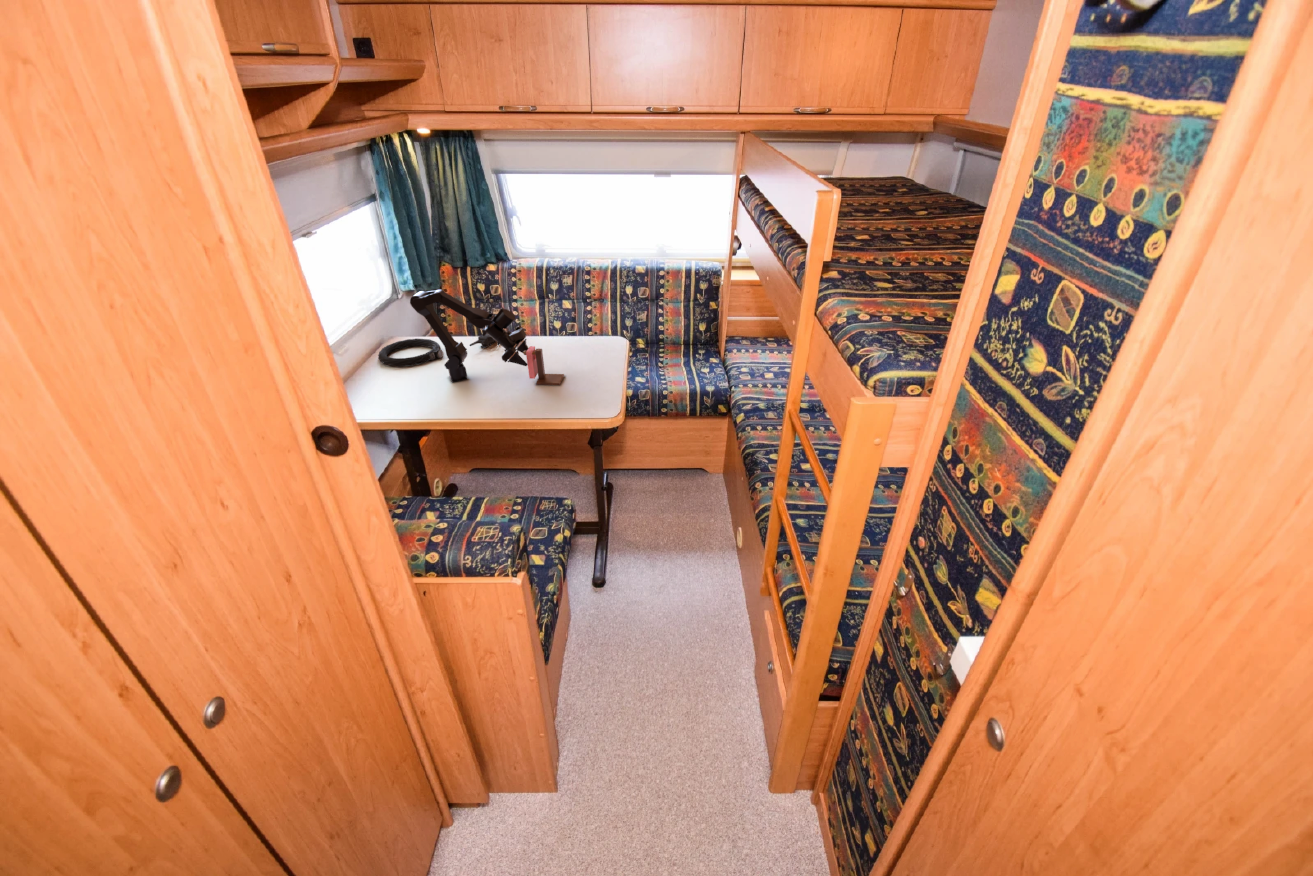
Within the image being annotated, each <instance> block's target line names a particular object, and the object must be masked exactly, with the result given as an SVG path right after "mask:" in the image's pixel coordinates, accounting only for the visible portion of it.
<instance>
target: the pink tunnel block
mask: <svg viewBox="0 0 1313 876" xmlns="http://www.w3.org/2000/svg"><path fill="white" fill-rule="evenodd" d="M535 350H536V346H535V345H534V346H533V345H531V346H528V350H527V351H526V355H525V357H526V363H527V364H528V365H527V370H528V377H529V380H530V379H536V378H537V376H538V370H537V362H536V355H532V353H533V351H535Z"/></svg>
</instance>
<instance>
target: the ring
mask: <svg viewBox="0 0 1313 876" xmlns="http://www.w3.org/2000/svg"><path fill="white" fill-rule="evenodd" d="M410 347H411V348H413V347H426V348H431V349H430V350H429V351H427V352H425V353H422V354H419V355H416V356H410V357H399V358H395V357H389V356H388V355H390V354H391V353H393V352H395V351H398V350H400V349H401V350H402V349H405V348H410ZM443 355H444V353H443V350H442V349H441V346H440V343H438V342H437V341H435V340H433V339H430V338H429V339H428V338H408V339H405V340H398V341H396V342H393V343H390V344H387V345H385V346H384V347H382V348H381V350H380V351H378V354H377V356H378V360H379V361H380V363H383V364H384V365H388V366H391V367H407V366H408V367H409V366H415V365H418V364H419V365H420V364H423V363H425V362H429V361H433V360H434V359H436V360H439V359H442V358H443Z"/></svg>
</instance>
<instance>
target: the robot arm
mask: <svg viewBox="0 0 1313 876" xmlns="http://www.w3.org/2000/svg"><path fill="white" fill-rule="evenodd" d="M435 303H439V304H441V305H443V306H445V307H446V308H448V309H450V310H452V311H453V312H455V313H457V314H459V315H461V316H462V317H464V318H465V319H466V320H467V322H469V323H470V324H471V325H473V327H475V328H477V329H481V332H482V333H481V335H483V336H485V335H486V334H488V335H490V336H491V337H492V338H493V339H494V340H496V345H497V346H498V347H499V346H501V347H502V348H504V353H503V354H502V355H501V360H502V361H503V362H504V363H513V364H517V365H520V366H523V367H528V364H527V361H526V360H524V358H523V357H522V356H521V355H520V353H522V354H523V352H524V351H525V350H526V351H527V350H528V348H529V346H528V345H527V333H526V329H525V328H524V327H523V326H521V325H517V326H516V327H515V330H514V331H512V332H511V331H510V330H507V331H506V330H505V329H508V328H509V327H510V326H511V325H512V324H513V322H514V321H515V320H516V315H515V313H513V312H512V311H511V310H509V309H505V308H504V307H501V308H500V309H499V310H498V312H497V313H492V312H488V311H487V310H484V309H482V308H479V307H473V306H471V305H468V304H467V303H465V302H464V301H461V300H459V299H458V298H456V297H454V296H452V295H450V294H449V293H447V292H446V291H444V290H443V289H436V290H428V291H423V290H421V291H418V292H417V293H415V294H414V295H413V296H411V297H410V299H409V305H410V306H411V307H412V309H413V310H414V311H415V312H416V313H417V314H419V315H421V316H422V317H423V318H424V319H425V320H426V322H427V323H428V325H429V326H430V328H431V329H432V330H433V332H434V333H435V335H436V336H437V338H438V339H439V341H440V342H441V344H442V345H443V346H444V351H445V355H446V357H447V359H448V360H447V361H446V362H445V363H444V368H445V369H446V370H448V378H449V380H450V381H451V383H457V382H462V381H466V380H468V373H467V368H466V366H465V365H464V362H465V360H466V358H467V357H468V349H467V348H466V346H465V345H464V343H463V342H462V341H460V342H458V341H456V340H455V339H454V337H453V336H452V334H451V333H450V331H449V330H448V329H447V327H446V325H445V324H444V322H443V320H442V319H441V318H440V317H439V315H438V313H437V312H436V311H435V306H434V304H435ZM519 352H520V353H519Z"/></svg>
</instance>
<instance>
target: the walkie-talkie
mask: <svg viewBox="0 0 1313 876" xmlns="http://www.w3.org/2000/svg"><path fill="white" fill-rule="evenodd" d="M494 343H497V341H496V340H494V339H493V338H492V337H491V336H490V335H488V334H486V335H485V336H483V334H481V335H479V336H478V337H477V340H476V341H473V342H472V343H470V344H469V346H470V347H472V346H475V345H478V344H481V345H480V348H484V349H485V348H488V347H490V346H492V345H493V344H494Z"/></svg>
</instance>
